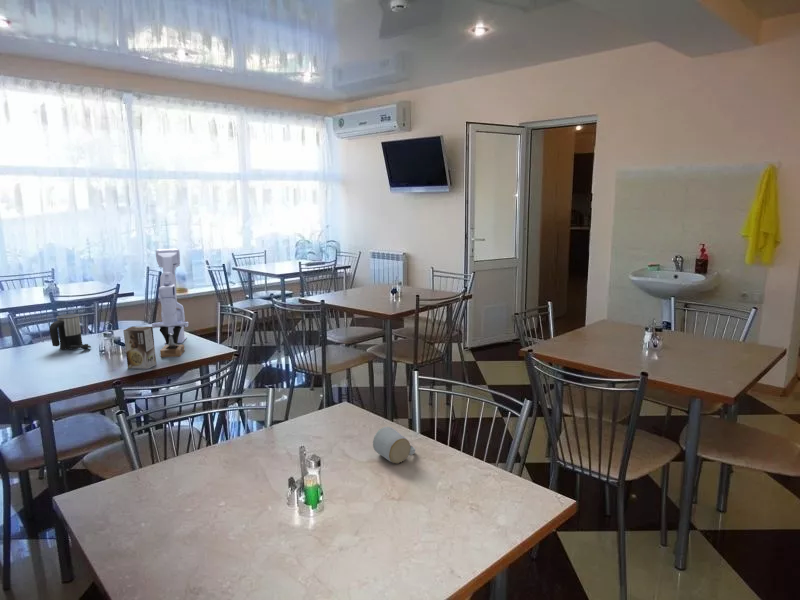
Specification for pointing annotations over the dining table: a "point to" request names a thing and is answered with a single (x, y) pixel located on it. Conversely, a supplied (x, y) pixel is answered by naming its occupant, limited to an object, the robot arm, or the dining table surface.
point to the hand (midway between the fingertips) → (171, 343)
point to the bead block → (172, 351)
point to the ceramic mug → (392, 445)
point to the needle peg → (171, 341)
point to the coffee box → (139, 347)
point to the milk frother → (67, 332)
